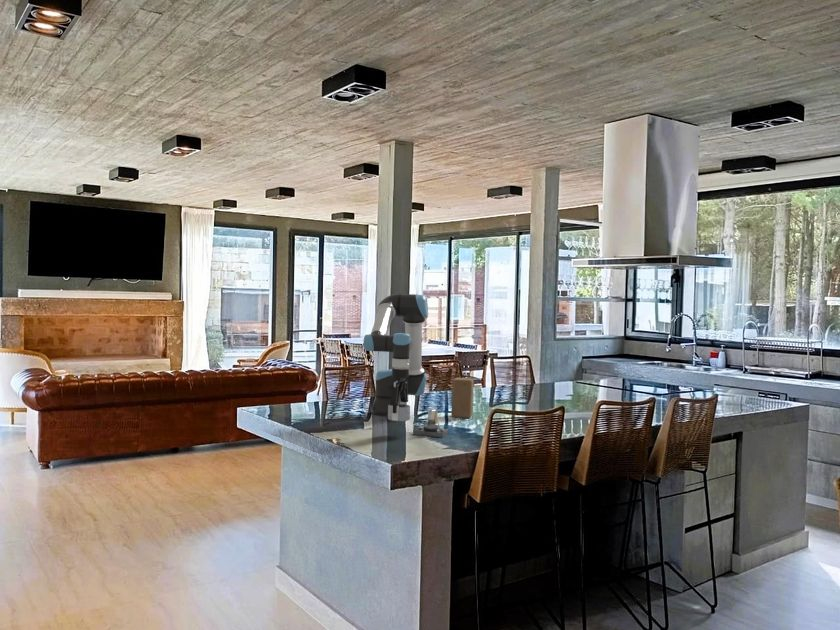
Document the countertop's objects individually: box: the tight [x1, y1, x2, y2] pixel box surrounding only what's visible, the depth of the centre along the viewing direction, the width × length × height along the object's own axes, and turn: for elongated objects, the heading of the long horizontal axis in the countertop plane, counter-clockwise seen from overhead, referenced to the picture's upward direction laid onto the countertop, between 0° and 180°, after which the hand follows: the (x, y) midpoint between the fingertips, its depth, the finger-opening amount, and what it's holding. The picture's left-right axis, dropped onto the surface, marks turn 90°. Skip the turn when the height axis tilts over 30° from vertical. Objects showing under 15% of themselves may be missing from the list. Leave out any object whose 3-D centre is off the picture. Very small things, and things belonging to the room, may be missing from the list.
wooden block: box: [451, 377, 475, 419], centre depth 373 cm, size 10×10×20 cm
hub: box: [387, 403, 411, 422], centre depth 315 cm, size 9×9×6 cm
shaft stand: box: [412, 408, 450, 439], centre depth 321 cm, size 14×10×11 cm
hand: (398, 418), depth 315 cm, fingers closed on hub, 9 cm apart
